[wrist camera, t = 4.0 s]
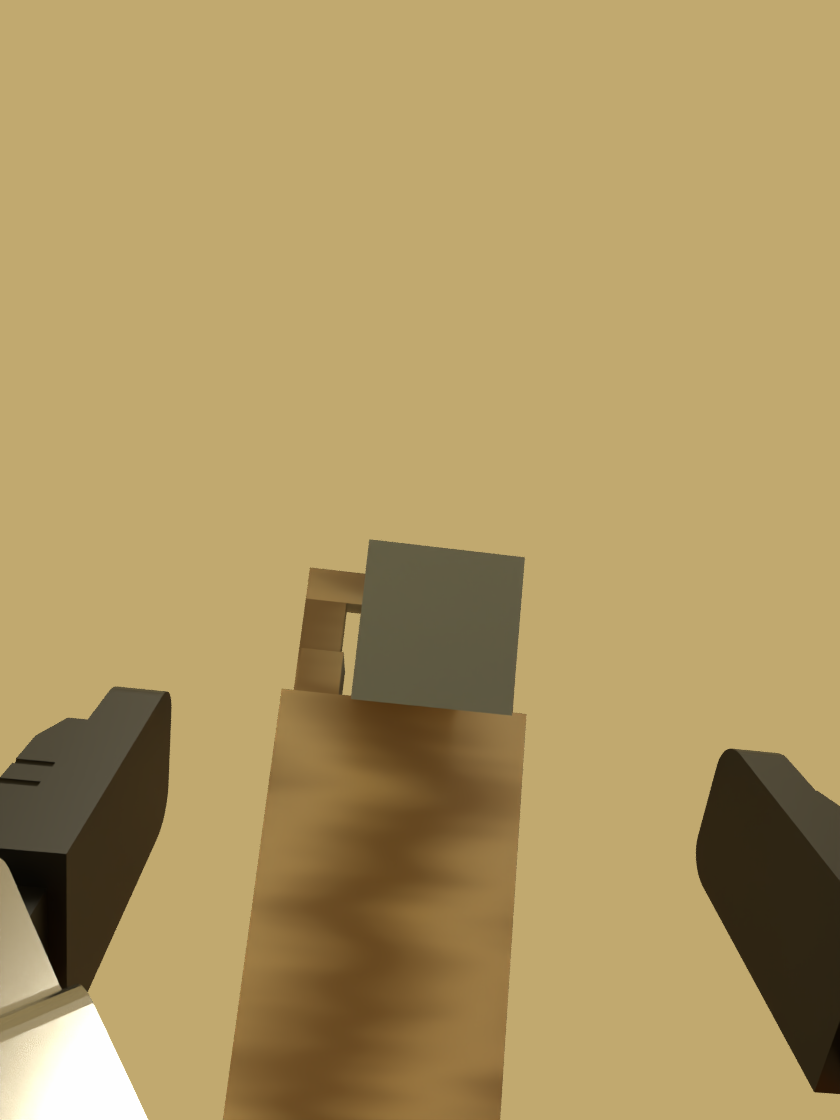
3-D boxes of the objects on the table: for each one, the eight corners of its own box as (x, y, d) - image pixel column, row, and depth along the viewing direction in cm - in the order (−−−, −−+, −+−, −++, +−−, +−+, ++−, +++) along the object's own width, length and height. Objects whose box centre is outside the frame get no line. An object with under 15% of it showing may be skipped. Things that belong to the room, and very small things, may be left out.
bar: (435, 703, 29) (443, 621, 30) (511, 715, 15) (525, 557, 15) (353, 694, 29) (362, 613, 29) (350, 698, 15) (369, 539, 15)
